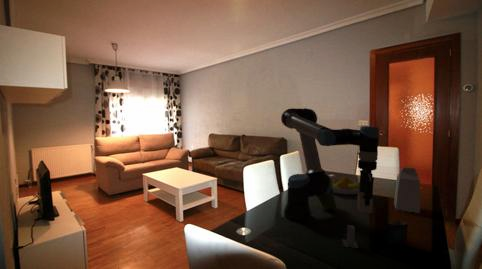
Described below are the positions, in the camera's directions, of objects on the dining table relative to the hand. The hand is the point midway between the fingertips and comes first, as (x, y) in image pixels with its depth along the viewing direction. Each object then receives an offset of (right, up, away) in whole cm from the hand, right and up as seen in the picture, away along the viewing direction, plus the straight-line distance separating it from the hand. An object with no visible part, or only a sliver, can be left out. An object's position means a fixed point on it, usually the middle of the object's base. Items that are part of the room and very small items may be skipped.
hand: (364, 209), depth 109 cm
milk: (+46, -12, +37) cm, 60 cm away
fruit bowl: (+20, -9, +67) cm, 71 cm away
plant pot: (-3, -11, +33) cm, 35 cm away
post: (-8, -15, -4) cm, 17 cm away
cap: (0, 0, 0) cm, 0 cm away
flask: (+14, -15, -2) cm, 20 cm away
